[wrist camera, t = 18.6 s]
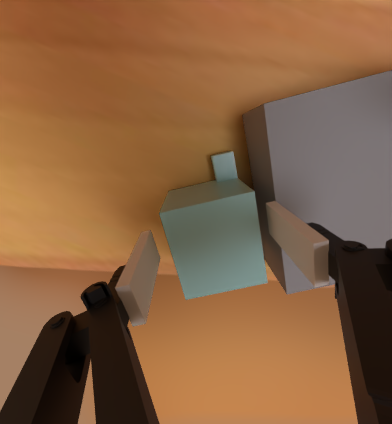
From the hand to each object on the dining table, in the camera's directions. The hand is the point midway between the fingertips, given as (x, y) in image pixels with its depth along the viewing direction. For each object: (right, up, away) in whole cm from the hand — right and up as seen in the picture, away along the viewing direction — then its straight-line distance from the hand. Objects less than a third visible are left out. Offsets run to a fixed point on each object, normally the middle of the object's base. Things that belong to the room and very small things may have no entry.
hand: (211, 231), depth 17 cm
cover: (0, +2, +6) cm, 6 cm away
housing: (+13, +5, +5) cm, 15 cm away
